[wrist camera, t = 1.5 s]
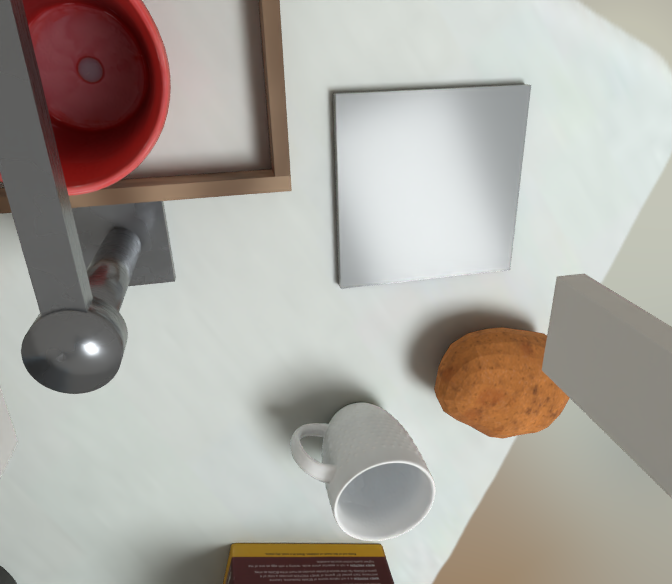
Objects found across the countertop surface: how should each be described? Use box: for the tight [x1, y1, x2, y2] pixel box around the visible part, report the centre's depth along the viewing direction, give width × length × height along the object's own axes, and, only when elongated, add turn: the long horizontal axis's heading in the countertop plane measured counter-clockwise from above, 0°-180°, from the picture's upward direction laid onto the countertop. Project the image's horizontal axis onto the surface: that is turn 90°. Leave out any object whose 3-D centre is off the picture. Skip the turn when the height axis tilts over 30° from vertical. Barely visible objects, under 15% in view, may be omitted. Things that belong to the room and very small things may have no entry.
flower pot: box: [0, 0, 171, 196], centre depth 29 cm, size 11×11×10 cm
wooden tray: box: [0, 0, 291, 213], centre depth 32 cm, size 23×16×2 cm
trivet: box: [333, 84, 531, 289], centre depth 40 cm, size 14×14×1 cm
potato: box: [434, 327, 569, 438], centre depth 45 cm, size 9×11×8 cm
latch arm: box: [0, 0, 128, 394], centre depth 21 cm, size 4×19×4 cm, turn 2°
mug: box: [290, 403, 435, 541], centre depth 43 cm, size 11×8×9 cm
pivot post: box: [72, 201, 176, 312], centre depth 32 cm, size 6×6×13 cm
